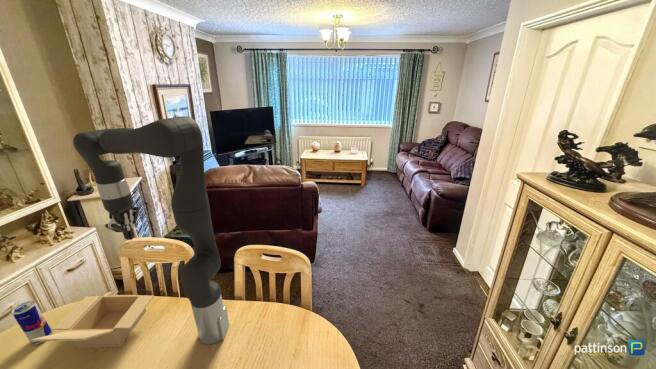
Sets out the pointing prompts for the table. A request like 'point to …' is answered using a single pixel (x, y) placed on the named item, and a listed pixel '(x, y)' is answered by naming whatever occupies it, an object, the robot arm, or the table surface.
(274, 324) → the table surface
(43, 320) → the beverage can
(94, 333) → the lid flap
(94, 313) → the carton
